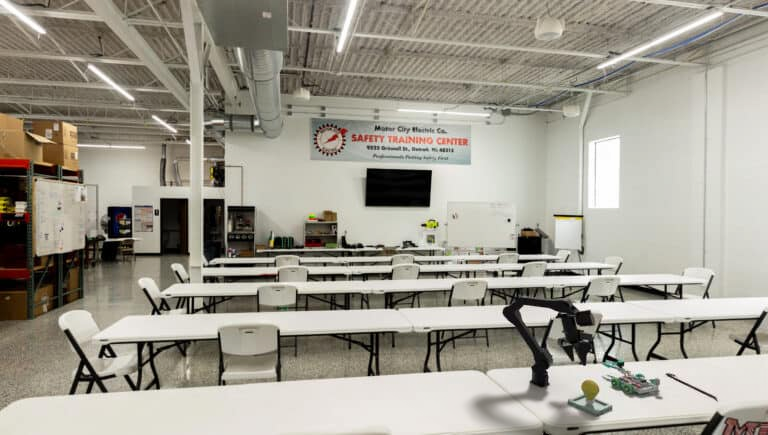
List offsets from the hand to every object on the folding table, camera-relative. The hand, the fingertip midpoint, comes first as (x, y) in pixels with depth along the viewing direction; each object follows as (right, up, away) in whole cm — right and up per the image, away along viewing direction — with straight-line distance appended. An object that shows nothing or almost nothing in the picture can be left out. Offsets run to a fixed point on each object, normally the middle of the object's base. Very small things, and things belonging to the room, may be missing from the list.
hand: (578, 363), depth 177 cm
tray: (0, -14, -10) cm, 17 cm away
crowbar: (+58, -16, +12) cm, 62 cm away
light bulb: (0, -13, -10) cm, 17 cm away
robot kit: (+28, -15, +13) cm, 35 cm away
